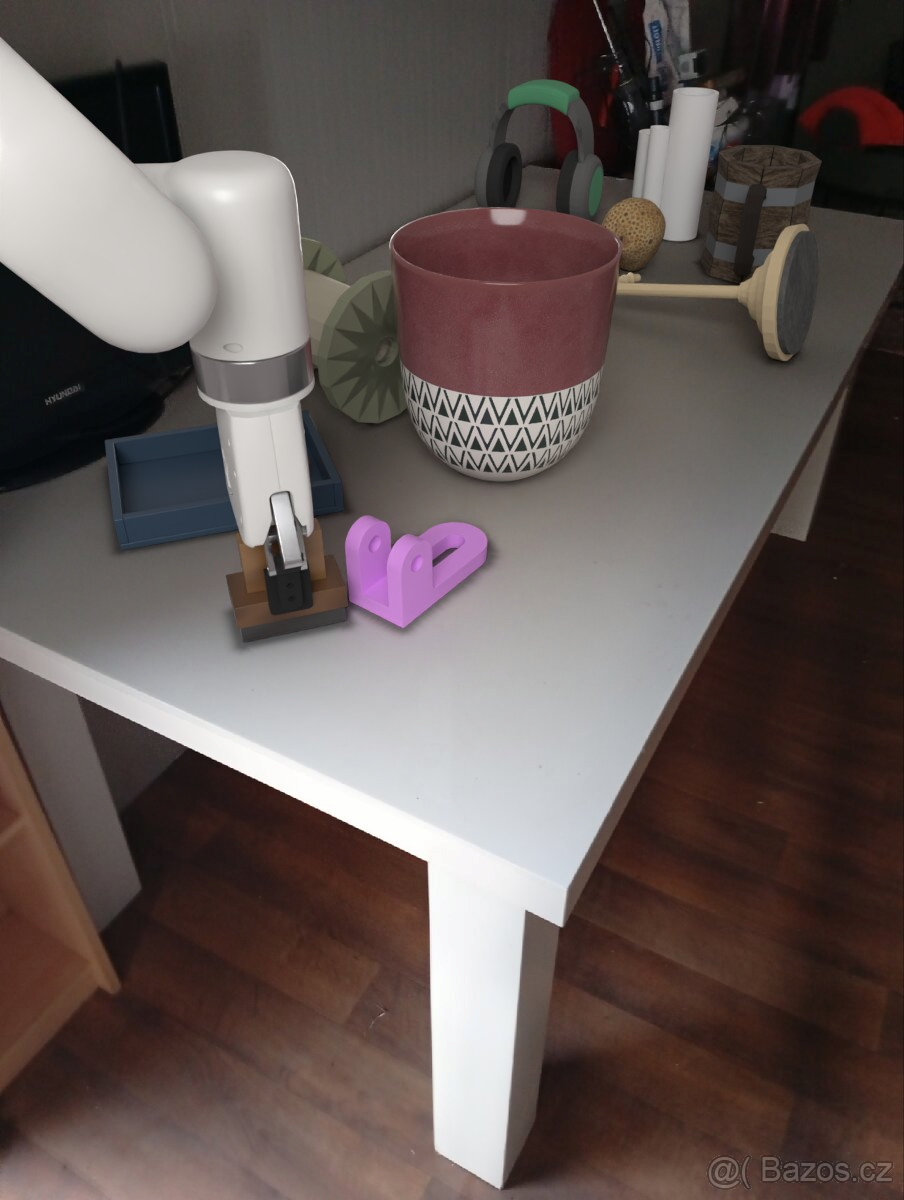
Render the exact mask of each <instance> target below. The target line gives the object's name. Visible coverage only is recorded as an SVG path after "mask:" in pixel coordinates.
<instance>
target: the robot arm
mask: <svg viewBox="0 0 904 1200" xmlns="http://www.w3.org/2000/svg"><path fill="white" fill-rule="evenodd" d="M301 237H302V236H301V227H300V216H299V205H298V196H297V190H296V184H295V181H294V178H293V175H292V173H291V170H290V169H289V168H288V167H287V165H286V164H285V163H284V162H283V161H281V160H280V159H279V158H277V157H275V156H272V155H270V154H266V153H263V152H257V151H253V150H252V151H251V150H233V149H232V150H217V151H215V150H214V151H208V152H207V151H206V152H202V153H197V154H193V155H190V156H187V157H185V158H182V159H180V160H178V161H175V162H163V163H162V162H161V163H158V162H155V163H134V162H132V160H131V159H129V157H128V156H126V154H125V153H123V151H121V150H120V148H119V147H118V146H117V145H115V144H114V143H113V142H112V141H111V140H110V139H109V138H108V137H107V136H106V135H105V134H104V133H103V132H102V131H100V129H98V127H96V126H95V125H94V124H93V123H92V122H91V121H90V120H89V119H88V118H87V117H86V116H85V115H84V114H83V113H82V112H80V111H79V110H78V109H77V108H76V107H75V106H74V105H73V104H72V103H71V102H70V101H69V100H68V99H67V98H66V97H65V96H63V95H62V94H61V93H60V92H59V91H58V90H57V89H56V88H55V87H54V86H53V85H52V84H51V83H50V82H49V81H48V80H46V79H45V78H44V76H42V75H41V74H40V73H39V72H38V71H37V70H36V69H35V68H34V67H32V66H31V65H30V63H28V62H27V61H26V60H25V59H24V58H23V57H22V56H21V55H20V54H19V53H18V52H17V51H15V49H14V48H12V47H11V45H9V44H8V43H7V41H5V40H4V39H3V38H2V37H1V36H0V263H1V264H2V265H4V266H5V267H6V268H8V269H9V270H10V271H11V272H13V273H14V274H15V275H16V276H18V277H19V278H20V279H22V280H23V281H25V282H26V283H27V284H29V286H31V287H32V288H33V289H35V291H38V292H39V293H40V294H41V295H42V296H43V297H45V298H47V299H48V300H49V301H50V302H51V303H53V304H54V305H55V306H57V307H58V308H59V309H61V310H62V311H63V312H65V313H66V314H67V315H68V316H70V317H71V318H72V319H74V320H75V321H76V322H77V323H78V324H80V325H81V326H83V327H84V328H85V329H86V330H87V331H89V332H90V333H92V334H93V335H94V336H96V337H98V339H100V340H102V341H104V342H106V343H107V344H109V345H111V346H113V347H116V348H119V349H121V350H124V351H128V352H132V353H133V352H134V353H139V354H159V353H164V352H169V351H171V350H173V349H176V348H178V347H180V346H183V345H184V344H186V343H187V342H189V349H190V354H191V360H192V365H193V370H194V377H195V382H196V386H197V387H196V388H197V391H198V392H197V394H198V396H199V397H200V399H202V401H203V402H205V403H206V404H207V405H209V406H212V407H214V408H215V416H216V423H217V424H218V430H219V437H220V443H221V449H222V455H223V462H224V469H225V477H226V484H227V489H228V494H229V497H230V501H231V505H232V508H233V512H234V515H235V518H236V522H237V525H238V528H239V529H238V532H240V535H241V538H242V540H243V542H244V543H245V544H246V545H247V546H249V547H251V548H254V546H258V545H263V547H264V553H265V559H266V565H267V568H265V569H263V571H264V578H265V584H266V591H267V597H268V604H269V609H270V612H271V614H272V615H280V614H285V613H290V612H295V611H300V610H305V609H309V608H311V607H312V606H313V596H312V588H311V579H310V570H309V564H308V561H307V559H306V553H305V546H304V540H303V535H304V534H305V536H306V537H309V536H310V534H311V533H312V532H313V530H314V519H315V518H314V516H313V505H312V494H311V484H310V475H309V466H308V457H307V449H306V441H305V430H304V426H303V419H302V411H303V410H302V405H301V401H302V400H303V399H305V397H307V396H308V395H310V393H311V392H312V391H313V389H314V387H315V384H316V381H315V372H314V370H315V369H314V370H313V360H312V350H311V339H310V330H309V320H308V310H307V299H306V289H305V279H304V268H303V258H302V247H301ZM271 526H275V528H276V529H273V530H269V528H270V527H271ZM277 542H278V543H279V548H280V552H279V553H275V556H274V554H273V548H272V543H277Z"/></svg>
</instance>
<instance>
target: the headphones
mask: <svg viewBox="0 0 904 1200" xmlns="http://www.w3.org/2000/svg"><path fill="white" fill-rule="evenodd" d="M527 105H539V106H546V107H548V108H552V109H555V110H556V111H559V112H560V113H562V114H563V115H564V116H567V117H568V118H569V119H570V122H571V124H572V126H573V128H574V132H575V136H576V140H577V149H573V150H570V151H569V152H568V153H567V155H566V156H565V158H564V160H563V162H562V165H561V168H560V171H559V175H558V179H557V185H556V194H555V212H559V213H564V214H569V215H573V216H577V217H580V218H584V219H587V220H590V221H592V222H593V220H594V219H595V217H596V215H597V213H598V210H599V207H600V204H601V200H602V195H603V188H604V176H605V175H604V166H603V164H602V161H601V158H599V157H598V156H597V155H596V154H594V153H595V136H594V133H595V132H594V126H593V121H592V116H591V114H590V111H589V109H588V106H587V105H586V103H585V102H584V100H583V99H582V98H581V96H580V91H579V89H577V88H576V87H574V86H572V85H570V84H569V83H566V82H564V81H560V80H556V79H543V78H541V79H532V80H529V81H526V82H523V83H521V84H519V85H517V86H515V87H513V88H511V89H510V90H509V92H508V94H507V98H506V99H504V101H502V103H501V104H500V105H499V107H498V109H497V110H496V112H495V113H494V117H493V119H492V122H491V126H490V130H489V137H488V146H486V147H485V148H484V149H483V150H482V152H481V154H480V155H479V157H478V160H477V163H476V166H475V171H474V180H473V181H474V182H473V189H474V191H473V192H474V198H475V201H476V204H477V206H478V208H497V207H503V208H516V206H517V203H518V200H519V197H520V193H521V189H522V182H523V158H522V152H521V149H520V147H519V146H518V145H517V144H515V143H513V142H506V139H507V131H508V128H509V127H508V126H509V123H510V120H511V117H512V115H513V113H514V111H515V109H517V108H519V107H522V106H527Z"/></svg>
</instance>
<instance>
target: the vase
mask: <svg viewBox="0 0 904 1200" xmlns="http://www.w3.org/2000/svg"><path fill="white" fill-rule="evenodd" d="M719 98H720V92H719V91H718V90H716V89H712V88H706V87H694V86H693V87H692V86H691V87H678V88H675V89H674V90H673V92H672V98H671V106H670V114H669V121H668V125H661V124H654V125H650V128H643V129H640V130H638V138H637V139H638V140H637V148H636V156H635V166H634V174H633V182H632V190H631V198H633V197H638V198H644V199H648V200H650V201H652V202H653V203H655V204H656V205H657V206H658V208H659V209H660V210H661V212H662V214H663V215H664V218H665V222H666V228H665V234H664V238H663V240H665V241H671V242H687V241H691V240H695V239H696V238H697V235H698V230H699V229H698V228H699V224H700V223H699V222H700V217H701V210H702V204H703V198H704V191H705V185H706V178H707V174H708V173H707V172H708V167H709V159H710V155H711V154H710V153H711V147H712V142H713V141H712V140H713V136H714V135H713V134H714V128H715V122H716V115H717V108H718V103H719Z"/></svg>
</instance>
